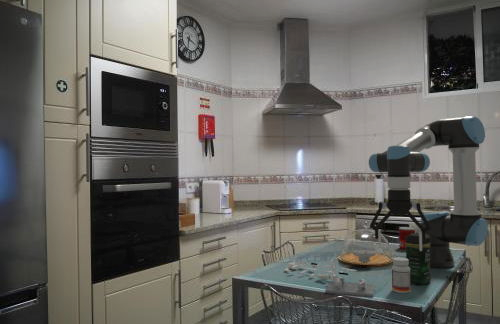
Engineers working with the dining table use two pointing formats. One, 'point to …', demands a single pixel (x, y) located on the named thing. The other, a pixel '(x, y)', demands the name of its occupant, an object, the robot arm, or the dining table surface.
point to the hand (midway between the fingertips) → (399, 249)
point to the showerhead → (364, 255)
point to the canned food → (404, 235)
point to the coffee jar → (418, 259)
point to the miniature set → (321, 276)
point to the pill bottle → (401, 275)
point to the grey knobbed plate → (351, 288)
